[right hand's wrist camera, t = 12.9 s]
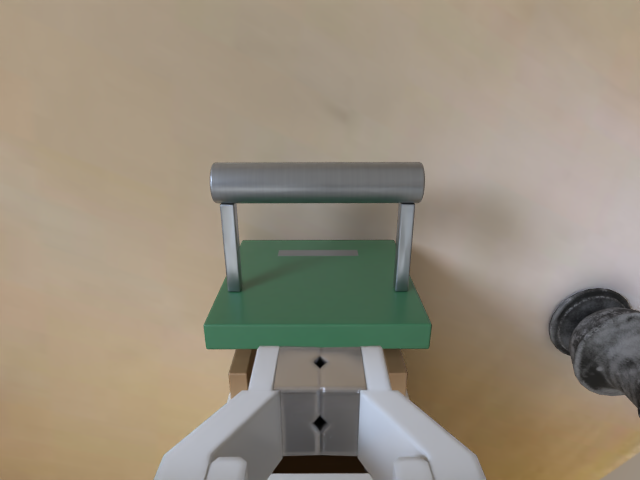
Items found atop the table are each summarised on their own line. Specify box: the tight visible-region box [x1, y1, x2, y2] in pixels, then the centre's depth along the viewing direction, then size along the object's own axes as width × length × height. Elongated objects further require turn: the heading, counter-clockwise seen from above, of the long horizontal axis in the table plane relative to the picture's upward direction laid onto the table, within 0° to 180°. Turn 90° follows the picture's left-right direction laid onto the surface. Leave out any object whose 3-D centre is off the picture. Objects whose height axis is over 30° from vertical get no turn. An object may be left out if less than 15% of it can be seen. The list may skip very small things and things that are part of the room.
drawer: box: [204, 162, 432, 473], centre depth 23 cm, size 22×9×9 cm, turn 0°
